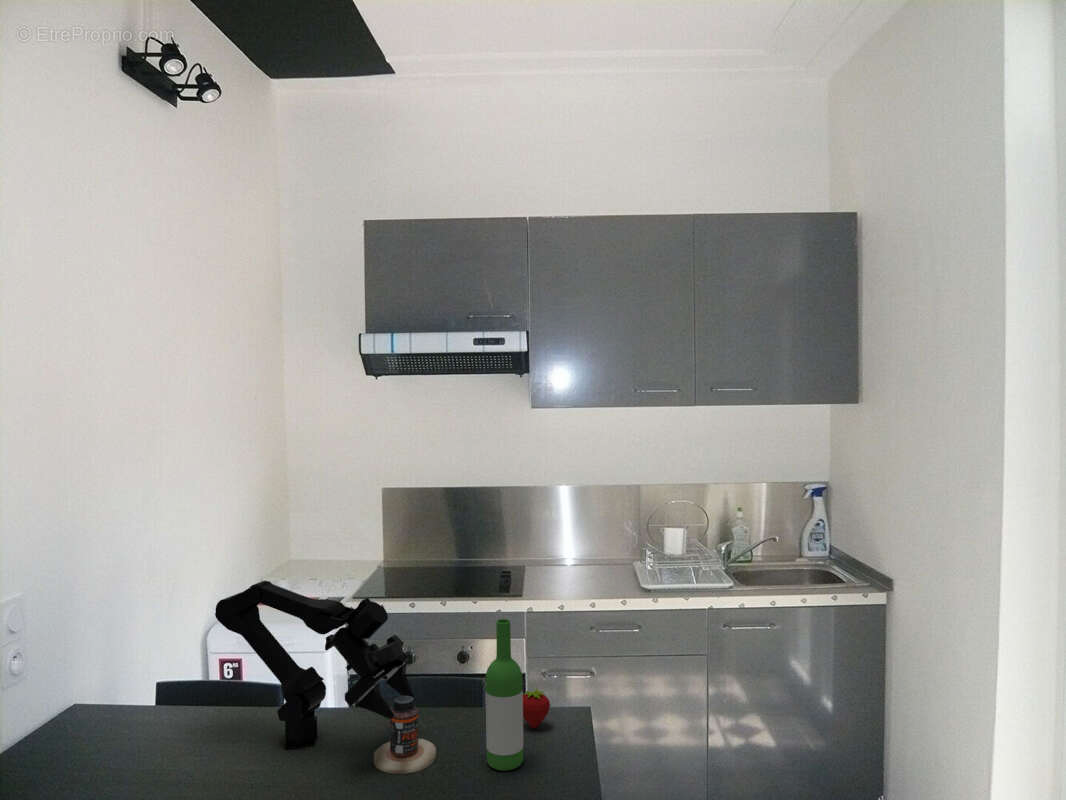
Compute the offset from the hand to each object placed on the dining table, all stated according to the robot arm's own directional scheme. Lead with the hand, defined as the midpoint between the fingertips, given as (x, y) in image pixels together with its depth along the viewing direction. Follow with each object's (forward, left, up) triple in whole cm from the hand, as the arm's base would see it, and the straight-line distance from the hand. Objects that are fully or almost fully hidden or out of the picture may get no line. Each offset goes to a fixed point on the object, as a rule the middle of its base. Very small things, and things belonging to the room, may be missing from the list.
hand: (403, 708), depth 157 cm
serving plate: (0, 0, -11) cm, 11 cm away
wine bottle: (+20, -8, -11) cm, 24 cm away
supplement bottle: (0, 0, -9) cm, 9 cm away
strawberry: (+30, +6, -11) cm, 33 cm away
